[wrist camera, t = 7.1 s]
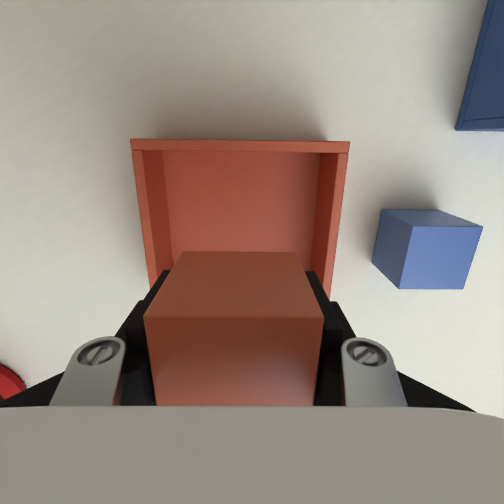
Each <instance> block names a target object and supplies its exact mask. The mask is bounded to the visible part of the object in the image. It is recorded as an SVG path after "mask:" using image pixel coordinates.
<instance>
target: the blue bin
mask: <svg viewBox="0 0 504 504" xmlns="http://www.w3.org/2000/svg"><path fill="white" fill-rule="evenodd" d="M456 131H504V0H488V4H487V8H486V12H485V16H484V20H483V24H482V28H481V32H480V35H479V39H478V43H477V47H476V51H475V55H474V59H473V63H472V67H471V71H470V75H469V79H468V82H467V86H466V90H465V94H464V98H463V102H462V106H461V110H460V114H459V118H458V122H457V126H456Z"/></svg>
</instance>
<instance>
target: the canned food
mask: <svg viewBox="0 0 504 504" xmlns="http://www.w3.org/2000/svg"><path fill="white" fill-rule="evenodd" d="M24 390H26V387H25V385H24V383H23V382H22V381H21V379H20V378H19V377H18V376H17V375H16V374H15V373H13V372H12V371H10V370H9V369H7V368H5V367H3V366H1V365H0V401H2V400H4V399H7V398H9V397H11V396H13V395H15V394H17V393H19V392H22V391H24Z"/></svg>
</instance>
